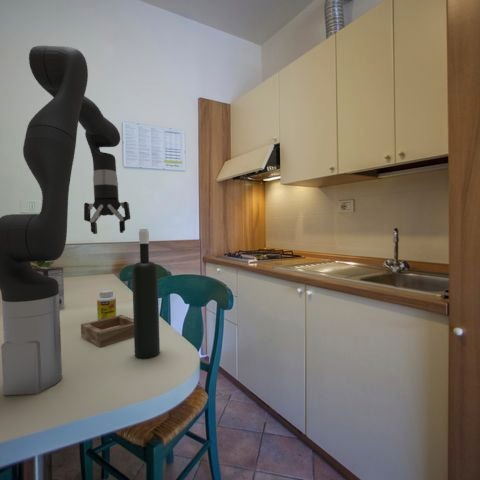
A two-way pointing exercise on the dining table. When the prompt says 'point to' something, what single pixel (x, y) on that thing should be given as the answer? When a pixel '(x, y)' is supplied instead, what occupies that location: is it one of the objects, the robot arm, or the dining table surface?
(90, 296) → the dining table surface
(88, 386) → the dining table surface
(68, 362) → the dining table surface
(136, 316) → the wine bottle
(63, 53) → the robot arm
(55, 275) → the coffee box
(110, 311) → the supplement bottle
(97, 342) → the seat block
